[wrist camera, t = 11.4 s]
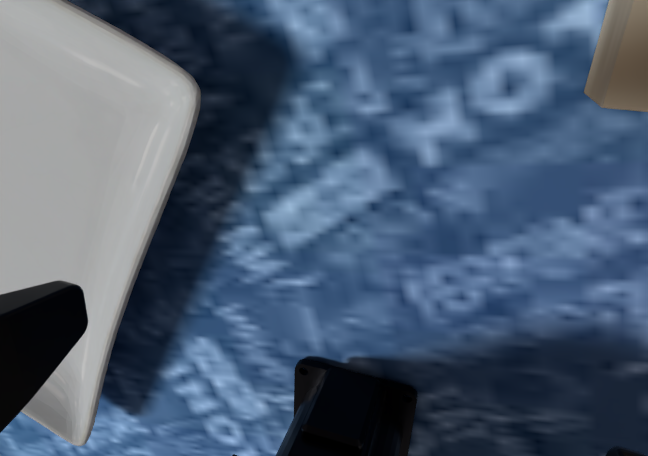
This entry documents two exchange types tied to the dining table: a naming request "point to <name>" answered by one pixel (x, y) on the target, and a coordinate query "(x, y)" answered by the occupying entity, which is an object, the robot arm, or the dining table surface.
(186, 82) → the square plate
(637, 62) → the brown box
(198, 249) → the dining table surface
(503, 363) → the dining table surface
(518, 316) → the dining table surface
